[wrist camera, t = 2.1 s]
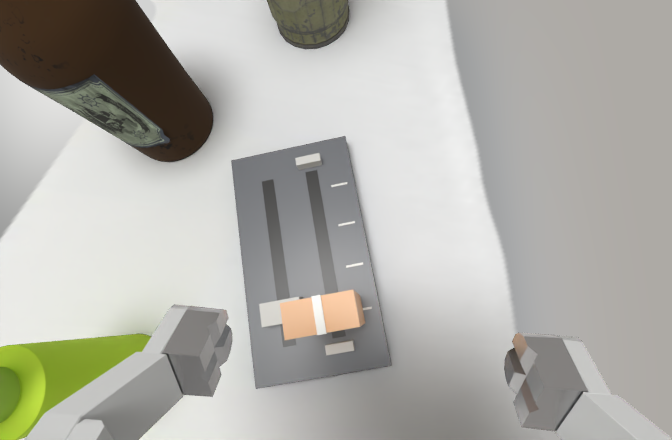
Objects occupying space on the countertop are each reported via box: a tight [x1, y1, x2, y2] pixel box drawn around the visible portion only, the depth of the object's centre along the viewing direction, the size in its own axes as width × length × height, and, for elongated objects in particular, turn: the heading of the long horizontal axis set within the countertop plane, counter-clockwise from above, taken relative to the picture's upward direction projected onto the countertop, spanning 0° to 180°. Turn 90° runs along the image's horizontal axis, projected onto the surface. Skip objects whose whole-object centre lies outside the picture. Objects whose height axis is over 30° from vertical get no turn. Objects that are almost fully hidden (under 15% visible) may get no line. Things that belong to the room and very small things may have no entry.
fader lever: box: [280, 290, 365, 340], centre depth 28 cm, size 2×5×9 cm, turn 100°
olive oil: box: [0, 0, 213, 162], centre depth 30 cm, size 11×11×25 cm
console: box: [231, 136, 391, 389], centre depth 34 cm, size 22×12×4 cm, turn 10°
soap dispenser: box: [0, 334, 151, 440], centre depth 26 cm, size 6×7×20 cm
